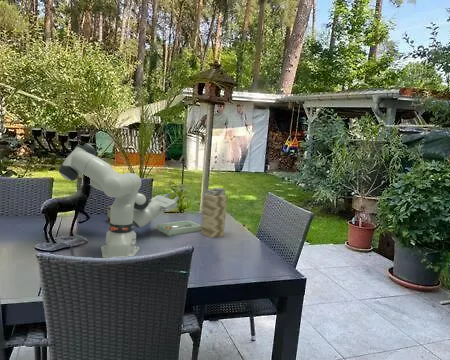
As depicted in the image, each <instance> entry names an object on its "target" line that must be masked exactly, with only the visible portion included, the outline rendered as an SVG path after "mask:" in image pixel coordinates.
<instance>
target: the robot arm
mask: <svg viewBox="0 0 450 360" xmlns="http://www.w3.org/2000/svg"><path fill="white" fill-rule="evenodd" d="M84 143H85V144H84V145H83V146H82V145H80V144H81V143H79V144H78V145H76V147H75V148H74V149H73V150H72V151H71V152H70V154H69V155H67V157H66V158H65V159H64V161H63V163H62V164H61V165H60V167H59V168H58V172H59V174H60V176H61V177H62V178H63V179H64V180H66V181H71V182H73V181H74V182H75V181H76V180H77V179H79V177H80V178H81V179H82V180H83V175H82V174H84V175H85V176H87V177H89V178H90V184H89V186H91V187H93V188H94V189H96V190H98V191H100V192H103V193H104V194H105V196H107V197H108V198H114V201H113V203H112V204H111V205H110V206H111V216H110V223H109V222H108V223H109V224H108V231H107V232H106V234H105V241H104V245H103V246H101V247H100V251H101V256H102V257H101V258H102V259H104V258H110V257H128V256H134V257H135V256H136V255H137V254H138V252H139V251H140V247H139V246H138V245H137V233H136V231H134V227H135V228H139V229H140V228H143V227H145V226H146V225H148V224H149V223H150V222H152V220H153V219H156V218H158V217H159V216H161V215H162V214H164V213H167V212H171V211H172V210H174V209H175V208H177V207H178V204H177V202H178V200H179V199H180V196H178V195H176V196H175V197H174V199H171V198H170V197H172V194H171V193H170V192H168V193H167V194H164V195H160V194H158V195H156V196H154V197H152V198H151V199H150V197H149V196H148V194H147V193H146V192H143V191H141V190H140V188H141V187H142V179H141V177H140V175H138V174H137V173H134V172H125V173H119V172H117V171H115V170H114V169H113V168H112V166H111V164H110V163H108V162H107V161H104V160H103V159H101V158H100V157H98V156H97V152H96V149H95V147H94V146H92V145H91V144H89V143H86V142H84Z"/></svg>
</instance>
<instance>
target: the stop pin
mask: <svg viewBox="0 0 450 360" xmlns="http://www.w3.org/2000/svg"><path fill="white" fill-rule="evenodd" d="M185 227H192V225H191V224H185V225H177V226H168V227H165V228H167V229H169V230H170V229H178V228H185Z"/></svg>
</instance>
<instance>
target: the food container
mask: <svg viewBox="0 0 450 360" xmlns="http://www.w3.org/2000/svg"><path fill="white" fill-rule="evenodd" d="M111 206H112V205H110V206H109V205H107V207H106V212H107V215H106V216H107V223H110V216H111Z"/></svg>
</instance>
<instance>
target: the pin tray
mask: <svg viewBox="0 0 450 360" xmlns="http://www.w3.org/2000/svg"><path fill="white" fill-rule="evenodd" d="M185 224H191V225H192V227H185V228H178V229H170V230H169V229H167V228H165V227H168V226H177V225H185ZM201 229H202V224H201V225H200V224H198V223H197V222H194V221H191V220H182V221H173V222H168V223H167V222H164V223H157V224H156V231H158V232H161V233H162V234H164V235H165V236H168V237H171V236H178V235H183V234H192V233H199V232H201ZM198 231H199V232H198Z"/></svg>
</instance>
